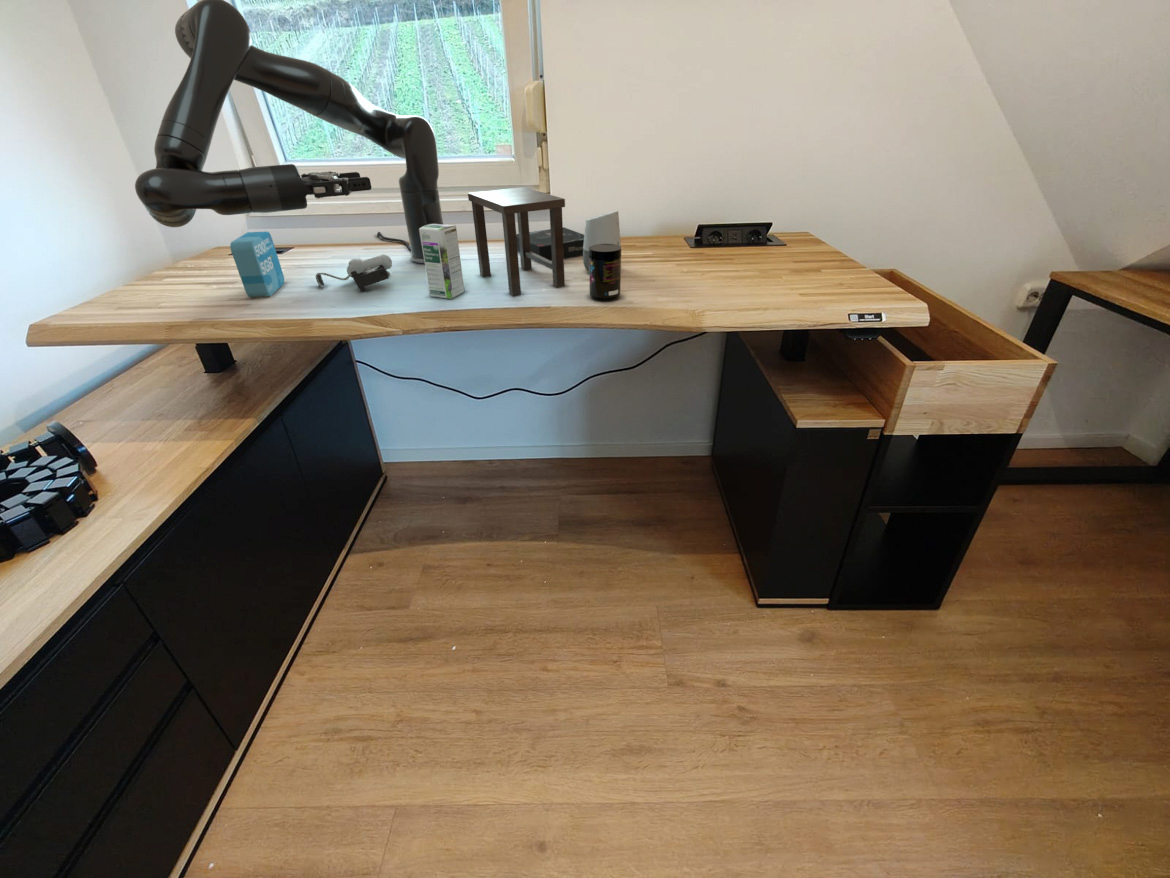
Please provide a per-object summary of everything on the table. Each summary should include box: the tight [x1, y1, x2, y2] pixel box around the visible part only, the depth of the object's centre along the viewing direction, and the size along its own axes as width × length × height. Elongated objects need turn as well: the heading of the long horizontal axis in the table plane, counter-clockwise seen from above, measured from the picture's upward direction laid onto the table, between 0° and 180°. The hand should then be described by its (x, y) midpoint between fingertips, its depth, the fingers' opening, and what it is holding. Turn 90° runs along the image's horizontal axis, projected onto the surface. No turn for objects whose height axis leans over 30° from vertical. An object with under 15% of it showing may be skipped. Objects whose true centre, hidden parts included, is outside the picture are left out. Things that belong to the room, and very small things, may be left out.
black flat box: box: [516, 226, 585, 261], centre depth 152 cm, size 16×17×4 cm
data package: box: [229, 231, 285, 298], centre depth 124 cm, size 12×4×12 cm, turn 8°
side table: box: [467, 186, 566, 297], centre depth 126 cm, size 20×14×19 cm
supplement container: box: [588, 244, 622, 302], centre depth 117 cm, size 7×7×10 cm
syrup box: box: [419, 224, 465, 300], centre depth 119 cm, size 6×6×14 cm
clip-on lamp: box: [315, 254, 393, 293], centre depth 129 cm, size 12×6×18 cm
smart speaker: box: [582, 210, 622, 273], centre depth 133 cm, size 10×9×14 cm
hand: (365, 180), depth 107 cm, fingers open, 8 cm apart
